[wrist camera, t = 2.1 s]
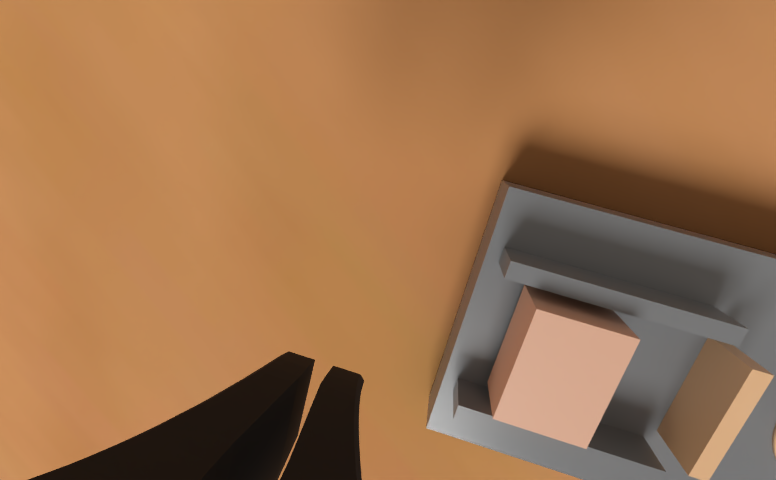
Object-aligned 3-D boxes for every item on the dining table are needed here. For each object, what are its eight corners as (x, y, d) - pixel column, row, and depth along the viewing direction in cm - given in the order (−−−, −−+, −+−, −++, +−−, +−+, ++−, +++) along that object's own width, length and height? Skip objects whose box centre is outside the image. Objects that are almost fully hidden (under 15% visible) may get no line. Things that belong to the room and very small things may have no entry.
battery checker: (852, 532, 16) (976, 654, 12) (429, 396, 18) (422, 468, 14) (1021, 320, 13) (1249, 394, 10) (501, 180, 15) (519, 195, 11)
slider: (568, 407, 14) (586, 449, 12) (487, 382, 15) (492, 418, 13) (613, 310, 13) (640, 339, 11) (524, 284, 13) (536, 308, 12)
